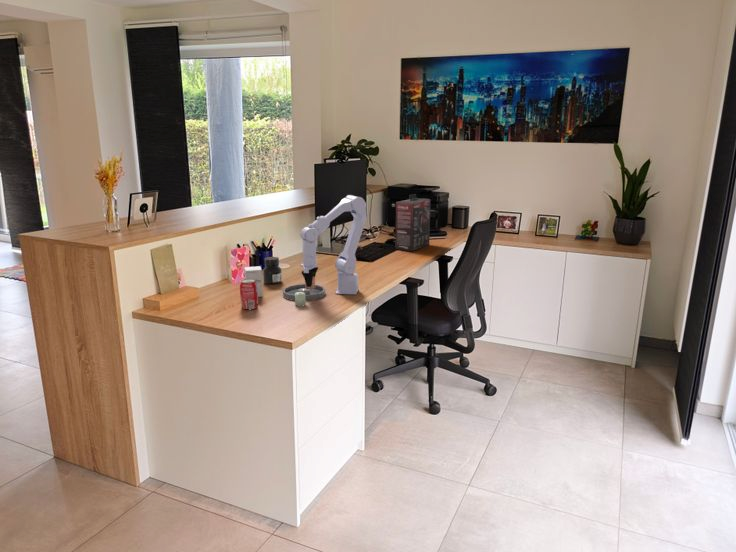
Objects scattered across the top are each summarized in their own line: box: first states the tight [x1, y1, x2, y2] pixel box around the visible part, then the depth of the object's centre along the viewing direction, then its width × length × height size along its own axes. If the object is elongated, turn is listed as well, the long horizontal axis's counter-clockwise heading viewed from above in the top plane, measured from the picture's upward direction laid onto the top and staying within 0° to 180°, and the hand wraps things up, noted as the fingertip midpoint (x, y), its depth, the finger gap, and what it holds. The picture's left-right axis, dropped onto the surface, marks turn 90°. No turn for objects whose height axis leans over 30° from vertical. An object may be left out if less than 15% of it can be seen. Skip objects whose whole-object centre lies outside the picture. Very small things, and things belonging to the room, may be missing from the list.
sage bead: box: [294, 292, 306, 307], centre depth 235 cm, size 4×4×5 cm
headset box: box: [394, 193, 431, 252], centre depth 344 cm, size 25×12×33 cm, turn 148°
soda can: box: [239, 278, 259, 310], centre depth 230 cm, size 7×7×12 cm
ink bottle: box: [262, 256, 283, 285], centre depth 269 cm, size 10×9×12 cm
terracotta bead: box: [304, 276, 316, 289], centre depth 244 cm, size 4×4×5 cm
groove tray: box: [282, 283, 326, 301], centre depth 250 cm, size 19×19×2 cm
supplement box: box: [243, 265, 264, 298], centre depth 248 cm, size 7×7×13 cm
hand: (310, 284), depth 245 cm, fingers closed on terracotta bead, 4 cm apart
